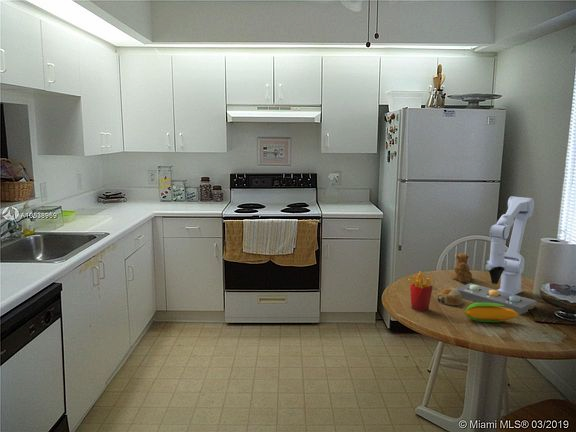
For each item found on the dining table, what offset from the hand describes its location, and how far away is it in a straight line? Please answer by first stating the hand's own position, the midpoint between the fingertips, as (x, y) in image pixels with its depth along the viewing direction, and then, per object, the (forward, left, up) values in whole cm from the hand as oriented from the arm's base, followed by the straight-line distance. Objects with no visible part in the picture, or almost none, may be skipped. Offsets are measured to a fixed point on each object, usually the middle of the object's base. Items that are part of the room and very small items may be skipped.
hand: (494, 283), depth 204 cm
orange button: (0, 0, -7) cm, 7 cm away
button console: (0, 0, -8) cm, 8 cm away
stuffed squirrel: (-17, -25, -8) cm, 31 cm away
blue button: (0, +9, -6) cm, 11 cm away
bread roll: (+16, -11, -8) cm, 21 cm away
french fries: (+34, -15, -8) cm, 38 cm away
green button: (0, -9, -6) cm, 11 cm away
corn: (+22, +11, -8) cm, 26 cm away
